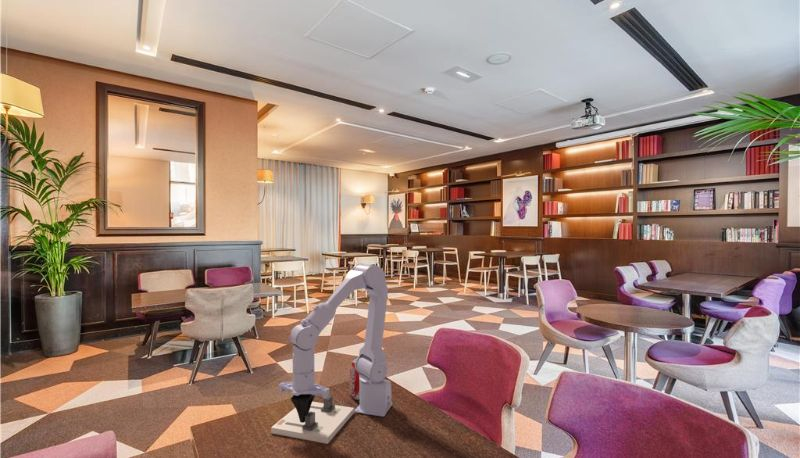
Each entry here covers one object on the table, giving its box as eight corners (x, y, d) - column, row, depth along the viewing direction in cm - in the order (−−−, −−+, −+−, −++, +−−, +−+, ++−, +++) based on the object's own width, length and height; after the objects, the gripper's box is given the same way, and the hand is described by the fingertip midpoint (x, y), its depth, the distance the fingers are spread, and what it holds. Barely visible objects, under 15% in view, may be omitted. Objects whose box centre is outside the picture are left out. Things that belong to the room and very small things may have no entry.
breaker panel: (354, 412, 104) (353, 407, 104) (327, 443, 89) (327, 437, 89) (304, 405, 109) (304, 400, 109) (271, 433, 94) (271, 427, 94)
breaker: (335, 407, 104) (334, 395, 104) (330, 412, 101) (330, 400, 101) (326, 405, 105) (326, 394, 105) (320, 410, 102) (320, 399, 102)
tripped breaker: (318, 424, 95) (317, 412, 95) (312, 430, 92) (312, 417, 92) (308, 423, 96) (308, 410, 96) (302, 428, 93) (302, 416, 93)
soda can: (367, 402, 110) (367, 364, 111) (346, 400, 112) (346, 363, 112) (373, 392, 117) (373, 356, 118) (353, 391, 119) (353, 355, 119)
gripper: (271, 372, 93) (271, 424, 93) (319, 378, 89) (320, 432, 88) (287, 363, 100) (287, 411, 99) (333, 368, 95) (333, 418, 95)
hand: (303, 420), depth 94 cm, fingers closed
